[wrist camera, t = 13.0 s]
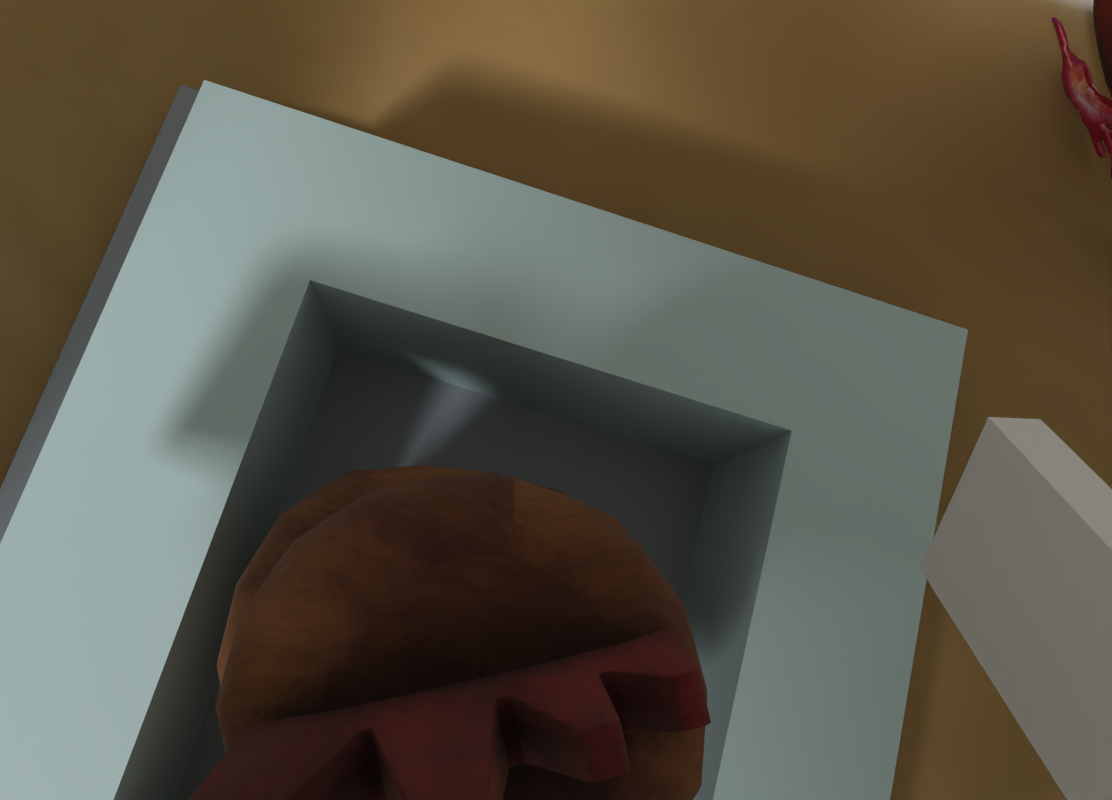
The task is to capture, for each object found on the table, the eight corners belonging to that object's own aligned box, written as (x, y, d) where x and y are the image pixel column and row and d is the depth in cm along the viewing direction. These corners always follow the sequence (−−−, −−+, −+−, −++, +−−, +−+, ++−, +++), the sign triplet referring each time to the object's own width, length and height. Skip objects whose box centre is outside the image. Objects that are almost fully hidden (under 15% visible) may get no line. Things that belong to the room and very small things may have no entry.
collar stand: (-194, 999, 16) (-515, 1211, 11) (194, 111, 21) (110, -56, 16) (781, 1232, 18) (938, 1522, 12) (935, 351, 23) (1097, 276, 17)
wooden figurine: (253, 752, 17) (-694, 1756, 3) (316, 470, 18) (-83, 92, 4) (580, 797, 18) (1254, 1763, 3) (619, 524, 19) (1233, 376, 5)
